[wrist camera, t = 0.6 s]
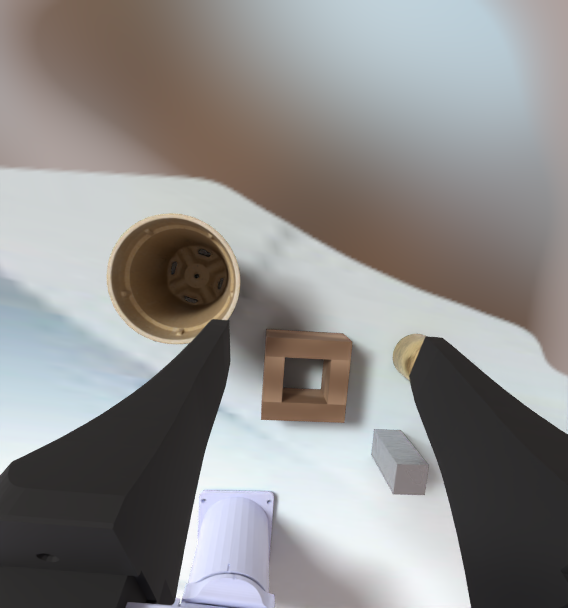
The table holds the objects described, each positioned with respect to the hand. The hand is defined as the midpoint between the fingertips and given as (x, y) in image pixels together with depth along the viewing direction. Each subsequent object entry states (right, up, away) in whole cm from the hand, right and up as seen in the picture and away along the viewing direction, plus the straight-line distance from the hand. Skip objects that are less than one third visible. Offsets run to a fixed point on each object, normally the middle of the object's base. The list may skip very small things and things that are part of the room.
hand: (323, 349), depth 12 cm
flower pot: (-10, +5, +20) cm, 22 cm away
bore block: (0, -5, +21) cm, 22 cm away
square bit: (+10, -14, +23) cm, 29 cm away
